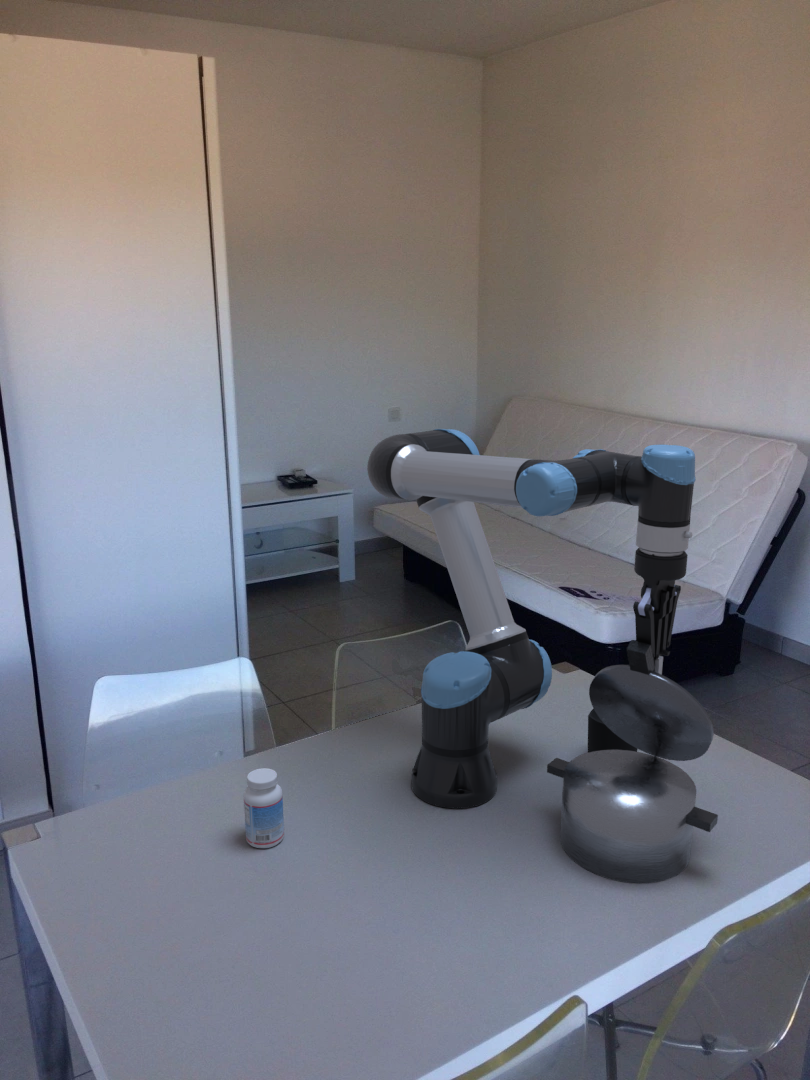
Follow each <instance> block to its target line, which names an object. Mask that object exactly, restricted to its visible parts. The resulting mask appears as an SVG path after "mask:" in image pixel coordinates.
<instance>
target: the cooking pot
mask: <svg viewBox="0 0 810 1080" xmlns="http://www.w3.org/2000/svg"><path fill="white" fill-rule="evenodd" d="M546 766H547V767H546V773H548V774H551V775H553V776H556V777H559V778H561V779H562V795H561V813H560V814H561V815H560V832H559V833H560V834H559V841H560V844H561V847H562V848H563V850H564V852H565V854H566V855H567V856H568V858H570V859H571V860H572V861H573V862H574V863H575V864H577V865H578V866H580V867H581V868H583V870H584V869H585V870H586V871H588V872H589V873H593V874H595V875H597V876H600V877H603V878H605V879H609V880H613V881H617V882H622V883H629V884H630V883H631V884H651V883H658V882H663V881H665V880H669V879H672V878H674V877H677V875H679V874H680V873H682V872H683V871H684V870H685V869H686V868H687V866H688V864H689V863H690V861H691V859H690V858H691V851H692V841H693V829H694V828H697V829H699V830H703V831H705V832H708V833H711V831H713V829H714V828H715V827H716V825H717V824H718V820H719V819H718V817H719V814H717V813H713V812H712V811H710V810H709V811H708V810H706V809H702V808H700V807H697V806H696V801H697V800H696V799H697V787H696V784H695V781H694V780H693V779H692V778H691V776H690V775H689V774H688V773H687V772H686V771H685V770H684V769H682V768H680V767H679V766H678V765H676V764H674V763H672V762H670V761H669V760H667V759H663V758H659V757H656V756H653V755H650V754H648V753H646V752H642V751H641V752H639V751H637V752H635V751H628V750H600V751H594V752H589V753H588V752H587V753H584V754H581V755H578V756H577V757H575V758H572V760H570V761H568V760H564V759H563V758H562V759H561V758H559V757H555V758H554V759H552V761H550V762H549V763H548V764H547V765H546Z"/></svg>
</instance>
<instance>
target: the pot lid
mask: <svg viewBox="0 0 810 1080" xmlns="http://www.w3.org/2000/svg"><path fill="white" fill-rule="evenodd" d="M625 650H626V655H627V660H628V664H615V665H614V664H613V665H610V666H605V667H604V668H602V669H601V670H600V671H598V672H597V673H596V674H595V675H594V677H593V679H592V680H591V683H590V684H589V688H588V689H589V690H588V694H589V695H588V696H589V700H590V703H591V706H592V707H593V708H594V710H595V712H596V713H597V715H598V716H599V718H600V719H601V720H602V722H603V723H604V724H605V725H606V726H607V727H608V728H609V729H610V730H611V731H612V732H613V733H615V734H616V735H617V736H618V737H620V738H621V739H622V740H624V741H625V742H627V743H628V744H630V745H632V746H633V747H635V748H637V750H639V751H641V752H642V753H645V754H649V755H653V756H656V757H659V758H661V759H664V760H667V761H674V762H675V761H676V762H686V761H693V760H696V759H698V758H700V757H702V756H703V755H705V754H706V753H707V751H709V748H710V747H711V744H712V743H713V740H714V732H715V731H714V725H713V722H712V720H711V717H710V715H709V714H708V712H707V711H706V708H704V706H703V705H702V704H701V703H700V701H699V700H698V699H697V698H696V697H695V696H694V695H693V694H691V692H689V691H688V690H687V689H686V688H684V686H682V685H680V684H679V683H677V682H676V681H674V680H673V679H670V678H669V677H667V676H665V675H664V674H662V675H661V674H659V673H657V672H654V671H653V670H654V668H655V666H654V660H653V655H652V649H651V645H650V644H646V643H642V642H638V641H636V640H634V639H631V640H630V642H629V644H628V645H627V647H626V649H625ZM593 708H592V709H593Z"/></svg>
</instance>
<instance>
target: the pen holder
mask: <svg viewBox="0 0 810 1080" xmlns="http://www.w3.org/2000/svg"><path fill="white" fill-rule="evenodd" d="M600 750H628V751H635V752H638V749H637V748H635V747H633V746H632V745H630V744H628V743H627V742H625V741H624V740H622V739H621V738H620V737H618V736H617V735H616V734H615V733H613V732H612V731H611V730H610V729H609V728H608V727H607V726H606V725H605V724H604V723H603V722H602V720H601V719H600V718H599V716H598V715H597V713H596V712H595V710H594V708H592V709H591V710H590V712H589V713H588V715H587V753H589V752H594V751H600Z"/></svg>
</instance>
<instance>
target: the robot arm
mask: <svg viewBox="0 0 810 1080" xmlns="http://www.w3.org/2000/svg"><path fill="white" fill-rule="evenodd" d="M368 457H369V458H368V460H367V465H366V466H367V468H366V469H367V475H368V480H369V482H370V483H371V486H372V487H373V488H374V490H376V491H377V492H378V493H379V494H381V495H382V496H384V497H386V498H390V499H396V500H404V501H405V500H406V501H414V500H415V501H416V503H417V506H418V510H419V511H421V512H423V513H425V514H427V516H429V518H430V520H431V523H432V526H433V529H434V532H435V536H436V538H437V541H438V544H439V547H440V550H441V554H442V556H443V559H444V562H445V565H446V568H447V571H448V574H449V577H450V580H451V583H452V586H453V589H454V592H455V594H456V595H455V596H456V598H457V601H458V605H459V607H460V610H461V613H462V617H463V619H464V623H465V625H466V628H467V629H466V630H467V631H468V634H469V641H468V643H467V645H466V647H465V651H464V650H463V651H458V652H453V651H452V652H447V653H444V654H441V655H439V656H437V657H435V658H433V659H432V660H431V661H429V662H428V663H427V665H425V668H424V669H423V673H422V683H421V688H420V693H421V695H420V696H421V746H420V749H419V751H418V754H417V757H416V759H415V761H414V765H413V768H412V770H411V789H412V792H413V793H414V794H415V795H416V796H417V798H419V799H420V800H422V801H423V802H426V803H427V804H430V805H432V806H437V807H440V808H446V809H467V808H474V807H477V806H480V805H482V804H485V803H487V802H488V801H490V800H491V799H492V798H493V797H494V796H495V794H496V793H497V790H498V773H497V771H496V769H495V766H494V762H493V758H492V756H491V752H490V749H489V735H490V734H489V733H490V731H489V728H490V727H489V726H490V725H491V723H493V722H495V721H497V720H498V721H499V720H500V719H503V718H505V717H507V716H509V715H511V714H513V713H516V712H518V711H520V710H525V709H528V708H530V707H531V706H533V704H535V703H536V702H538V701H540V700H542V699H543V698H544V697H545V695H547V693H548V690H549V688H550V686H551V684H552V679H553V667H552V663H551V659H550V656H549V655H548V653H547V651H546V650H545V648H544V647H543V646H540V643H538V642H537V641H535V640H533V639H529V635H528V633H527V630H526V628H524V627H522V626H521V625H519V624H517V623H516V622H515V620H514V617H513V615H512V611H511V609H510V605H509V602H508V599H507V596H506V594H505V590H504V588H503V584H502V581H501V579H500V575H499V573H498V570H497V567H496V564H495V560H494V558H493V556H492V552H491V548H490V545H489V543H488V540H487V537H486V535H485V532H484V528H483V526H482V523H481V519H480V516H479V513H478V512H477V508H476V505H475V503H479V504H487V505H494V506H505V507H512V508H521V509H523V510H525V511H526V512H527V513H528V514H529V515H531V516H534V517H547V516H548V517H551V516H552V517H554V516H558V515H560V514H564V513H566V512H570V511H571V512H572V511H574V510H578V509H583V508H586V507H591V506H595V505H599V504H604V503H607V502H609V503H611V502H612V503H617V504H624V505H629V506H633V507H636V506H637V507H638V512H637V516H638V518H637V525H636V538H635V546H637V547H638V548H637V549H636V550H635V555H634V573H635V574H636V575H637V576H640V578H642V579H643V584H642V587H641V590H640V597H641V600H640V601H634V602H633V604H632V605H633V606H632V609H633V612H634V616H635V618H634V619H635V620H634V622H635V641H638V642H642V643H646V644H650V645H651V649H652V655H653V660H654V666H655V668H654V670H653V671H654V672H657V673H659V674H661V675H663V662H664V657H665V656H666V657H669V656H670V654H671V650H667V649H666V648H669V647H670V646H671V640H672V635H673V630H674V629H673V628H674V623H675V619H676V618H675V617H676V613H677V611H676V610H677V606H678V600H679V597H680V593H681V590H682V586H681V585H677V584H675V583H676V581H678V580H681V579H683V578H685V576H686V574H687V566H688V553H687V552H686V551H687V550H688V549H689V539H691V538H692V537H693V532H691V531H690V529H691V528H690V527H691V518H692V517H691V515H692V513H691V512H692V505H693V498H694V497H693V496H694V487H695V482H696V455H695V452H694V451H693V449H691V448H689V447H687V446H685V445H684V446H683V445H678V444H672V445H671V444H652V445H651V444H650V445H648V446H646V447H645V448H644V449H643V451H642V455H640V456H639V455H633V454H628V453H620V452H614V451H609V450H606V449H601V448H600V449H591V448H590V449H589V448H588V449H582V450H579V451H578V453H577V454H576V455H574V456H573V457H572V458H567V459H561V460H557V459H556V460H552V459H535V458H523V457H522V458H521V457H509V456H508V457H506V456H495V455H494V456H493V455H482V454H480V451H479V449H478V447H477V445H476V443H475V442H474V441H473V440H472V438H471V437H469V435H467V434H465V432H462V431H461V430H458V429H451V428H450V429H449V428H447V429H446V428H435V429H432V430H427V431H425V430H424V431H421V432H420V431H418V432H411V433H410V432H409V433H402V434H401V433H400V434H393V435H391V436H388V437H386V438H383V439H382V440H381V441H380V442H379V443H376V445H375V446H374V447H373V449H372V451H371V452H370V454H369V456H368Z"/></svg>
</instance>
